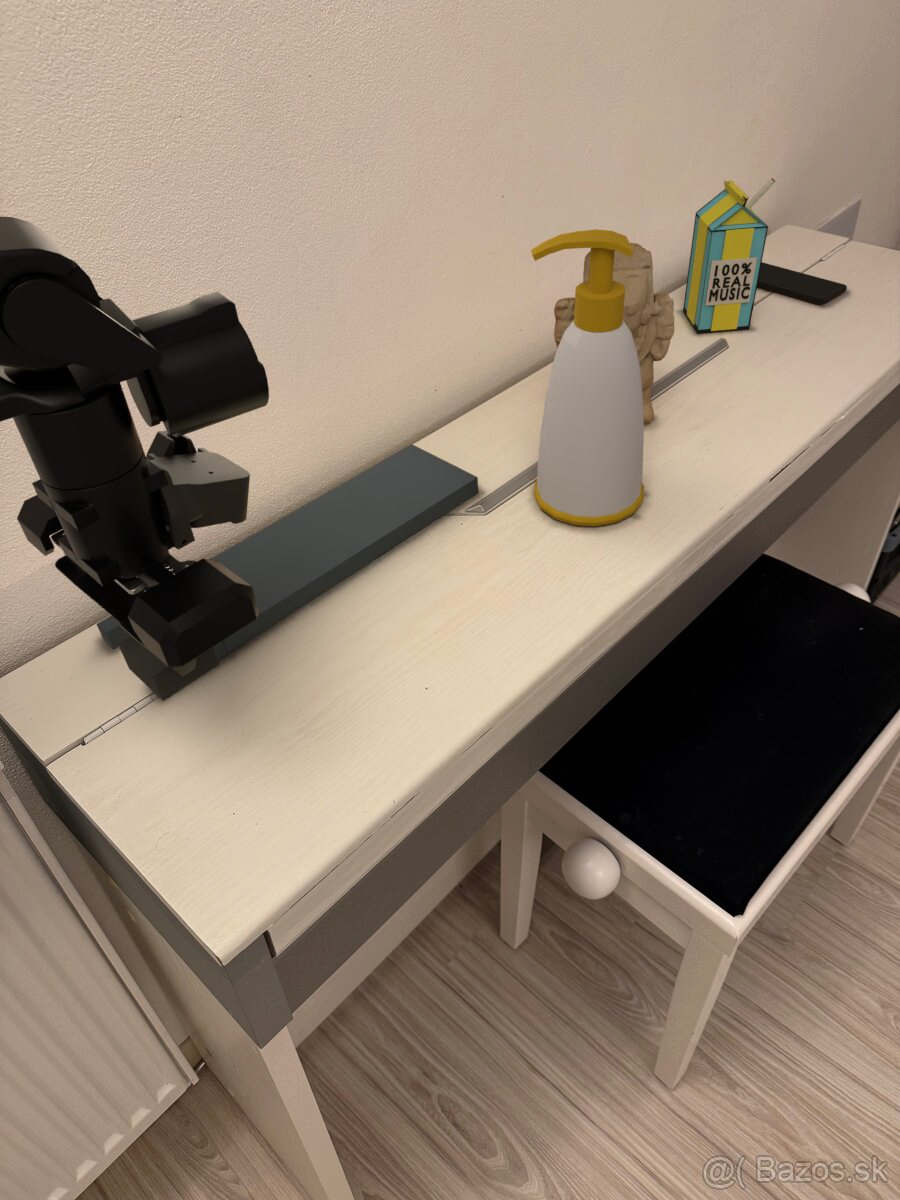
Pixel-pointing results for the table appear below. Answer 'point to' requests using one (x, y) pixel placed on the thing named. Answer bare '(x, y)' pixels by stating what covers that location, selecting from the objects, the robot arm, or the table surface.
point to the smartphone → (798, 284)
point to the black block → (162, 668)
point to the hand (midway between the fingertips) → (168, 654)
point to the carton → (725, 262)
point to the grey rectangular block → (335, 536)
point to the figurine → (633, 314)
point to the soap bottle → (592, 398)
